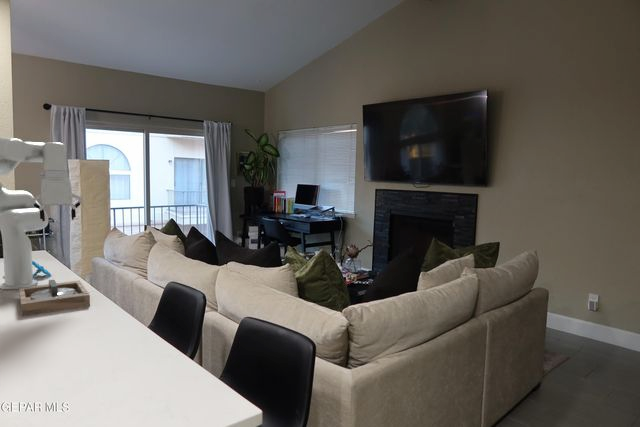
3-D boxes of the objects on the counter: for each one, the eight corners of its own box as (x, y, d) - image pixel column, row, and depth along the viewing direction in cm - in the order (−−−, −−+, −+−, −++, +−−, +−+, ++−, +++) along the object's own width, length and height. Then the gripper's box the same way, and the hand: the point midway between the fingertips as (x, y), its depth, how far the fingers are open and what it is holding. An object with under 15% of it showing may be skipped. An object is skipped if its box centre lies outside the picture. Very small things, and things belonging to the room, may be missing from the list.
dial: (29, 295, 161) (28, 281, 160) (72, 289, 169) (72, 276, 168) (31, 305, 149) (31, 290, 149) (78, 298, 158) (77, 284, 157)
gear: (51, 274, 193) (32, 260, 189) (40, 285, 190) (20, 270, 187) (53, 272, 202) (34, 258, 199) (43, 283, 200) (23, 269, 197)
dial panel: (19, 298, 163) (18, 287, 163) (80, 290, 175) (79, 279, 174) (22, 315, 144) (21, 303, 143) (90, 305, 156) (90, 294, 155)
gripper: (28, 175, 159) (31, 222, 160) (82, 175, 167) (84, 219, 169) (29, 175, 165) (32, 220, 167) (81, 175, 174) (83, 218, 175)
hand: (58, 220), depth 168 cm, fingers open, 9 cm apart
